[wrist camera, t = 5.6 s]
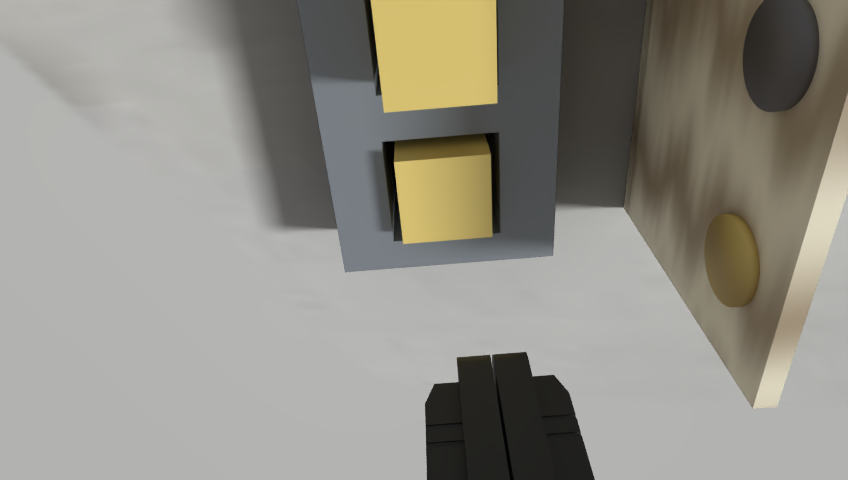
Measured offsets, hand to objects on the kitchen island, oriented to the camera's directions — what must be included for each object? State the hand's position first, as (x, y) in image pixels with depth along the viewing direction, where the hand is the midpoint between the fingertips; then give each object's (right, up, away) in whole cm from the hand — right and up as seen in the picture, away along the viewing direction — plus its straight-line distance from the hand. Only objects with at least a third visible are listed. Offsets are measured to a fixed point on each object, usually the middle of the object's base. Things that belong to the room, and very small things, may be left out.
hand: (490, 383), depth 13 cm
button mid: (-1, +12, +11) cm, 17 cm away
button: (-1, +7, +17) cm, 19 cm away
